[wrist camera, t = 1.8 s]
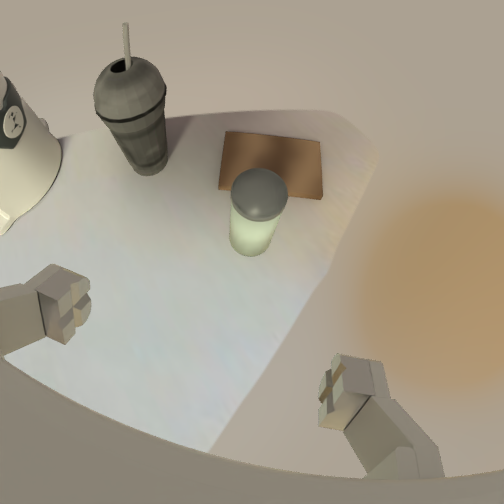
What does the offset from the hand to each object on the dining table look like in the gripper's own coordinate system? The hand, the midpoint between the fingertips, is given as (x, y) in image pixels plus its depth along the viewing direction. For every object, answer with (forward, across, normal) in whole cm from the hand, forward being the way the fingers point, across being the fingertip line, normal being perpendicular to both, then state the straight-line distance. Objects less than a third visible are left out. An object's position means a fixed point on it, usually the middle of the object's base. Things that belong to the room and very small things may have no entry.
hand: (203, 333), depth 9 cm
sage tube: (+25, +1, +7) cm, 26 cm away
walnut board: (+32, +1, 0) cm, 32 cm away
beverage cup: (+29, +15, +3) cm, 33 cm away
